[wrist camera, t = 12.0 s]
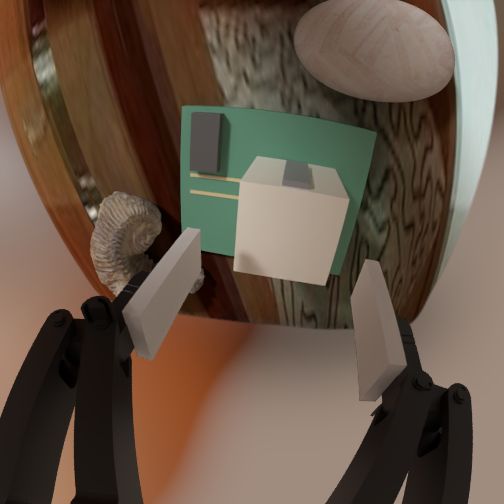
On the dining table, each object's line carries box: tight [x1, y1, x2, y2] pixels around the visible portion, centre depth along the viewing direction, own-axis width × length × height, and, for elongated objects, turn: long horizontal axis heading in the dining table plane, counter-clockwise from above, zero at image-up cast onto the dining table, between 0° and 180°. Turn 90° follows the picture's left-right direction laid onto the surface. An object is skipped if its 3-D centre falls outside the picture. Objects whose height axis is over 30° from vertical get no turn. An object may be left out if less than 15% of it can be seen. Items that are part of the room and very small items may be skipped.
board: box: [181, 105, 377, 275], centre depth 22 cm, size 16×14×4 cm
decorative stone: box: [294, 0, 455, 102], centre depth 14 cm, size 13×9×5 cm
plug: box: [233, 156, 350, 286], centre depth 20 cm, size 6×7×7 cm
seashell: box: [90, 191, 205, 297], centre depth 27 cm, size 14×10×10 cm
